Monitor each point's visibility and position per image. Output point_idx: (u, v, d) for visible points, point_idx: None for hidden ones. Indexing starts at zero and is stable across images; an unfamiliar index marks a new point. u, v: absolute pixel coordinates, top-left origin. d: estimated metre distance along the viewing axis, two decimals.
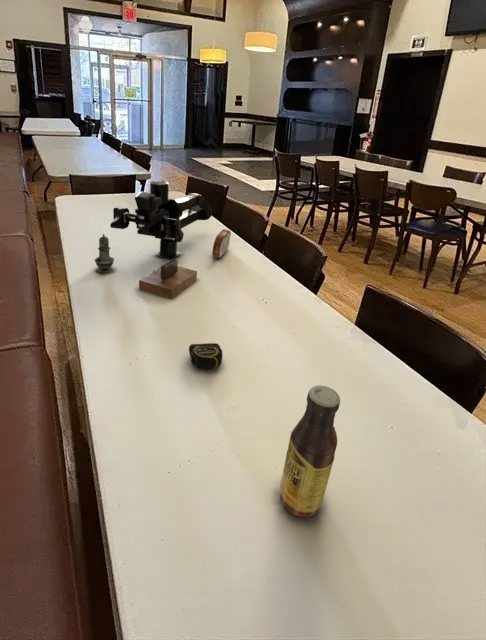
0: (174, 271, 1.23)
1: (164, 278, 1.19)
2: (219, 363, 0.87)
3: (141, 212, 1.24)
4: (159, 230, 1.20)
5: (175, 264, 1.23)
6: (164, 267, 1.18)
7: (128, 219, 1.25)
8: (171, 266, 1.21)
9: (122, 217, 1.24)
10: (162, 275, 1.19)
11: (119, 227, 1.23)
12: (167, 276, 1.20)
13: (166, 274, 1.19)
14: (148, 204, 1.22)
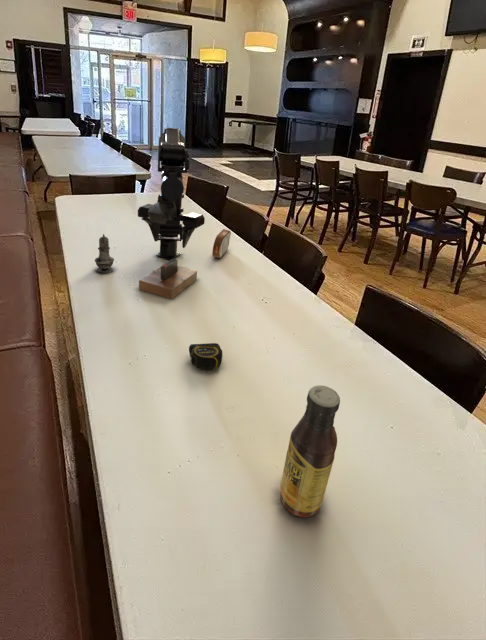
0: (174, 271, 1.23)
1: (164, 278, 1.19)
2: (219, 363, 0.87)
3: None
4: None
5: (175, 264, 1.23)
6: (164, 267, 1.18)
7: None
8: (171, 266, 1.21)
9: (153, 221, 1.18)
10: (162, 275, 1.19)
11: (159, 226, 1.20)
12: (167, 276, 1.20)
13: (166, 274, 1.19)
14: None
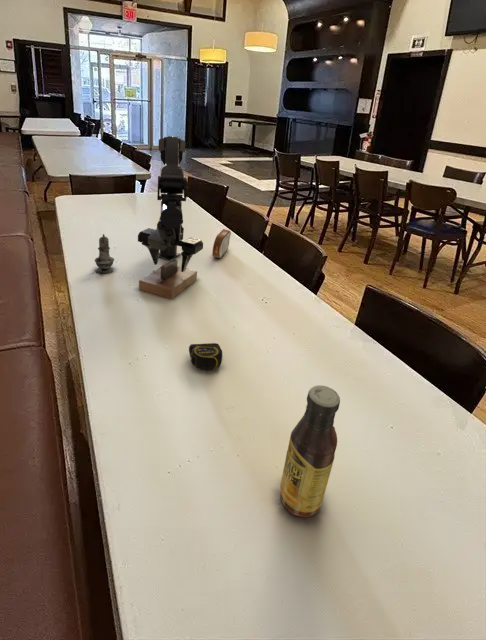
0: (174, 271, 1.23)
1: (164, 278, 1.19)
2: (219, 363, 0.87)
3: None
4: None
5: (175, 264, 1.23)
6: (164, 267, 1.18)
7: None
8: (171, 266, 1.21)
9: None
10: (162, 275, 1.19)
11: (158, 250, 1.23)
12: (167, 276, 1.20)
13: (166, 274, 1.19)
14: None
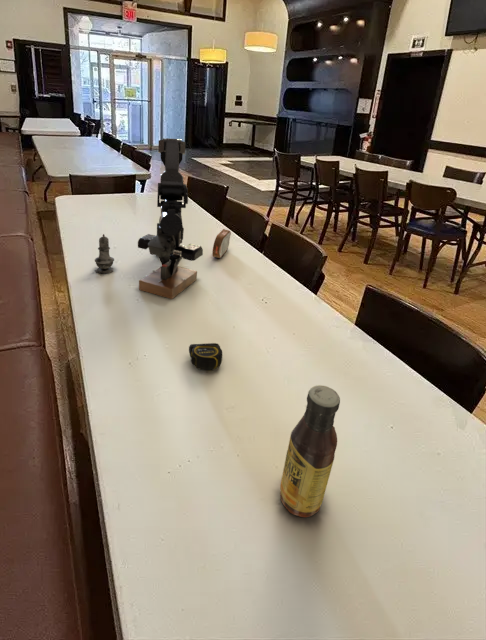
0: None
1: (164, 278, 1.19)
2: (219, 363, 0.87)
3: None
4: None
5: None
6: (164, 267, 1.18)
7: None
8: None
9: None
10: (162, 275, 1.19)
11: (169, 258, 1.23)
12: (167, 276, 1.20)
13: (166, 274, 1.19)
14: None
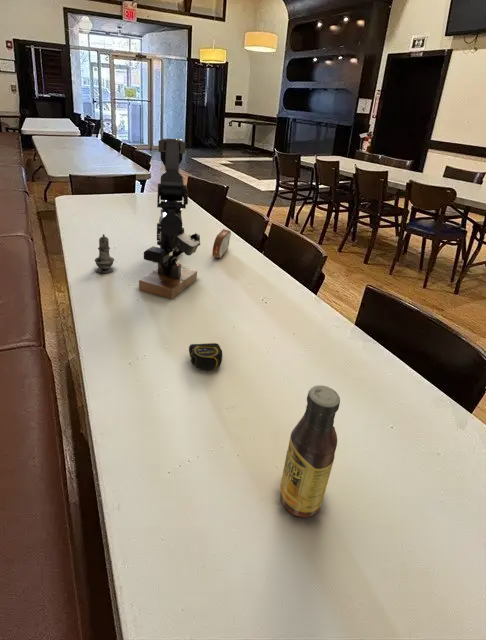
0: None
1: (180, 276, 1.22)
2: (219, 363, 0.87)
3: None
4: None
5: None
6: (180, 265, 1.20)
7: None
8: None
9: None
10: (179, 274, 1.21)
11: None
12: None
13: None
14: None
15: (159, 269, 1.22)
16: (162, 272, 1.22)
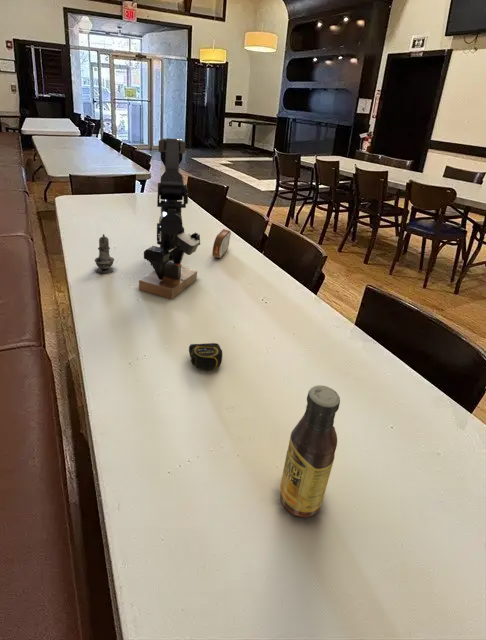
0: None
1: (180, 276, 1.22)
2: (219, 363, 0.87)
3: None
4: None
5: None
6: (180, 265, 1.20)
7: None
8: None
9: None
10: (179, 274, 1.21)
11: None
12: None
13: None
14: None
15: None
16: None
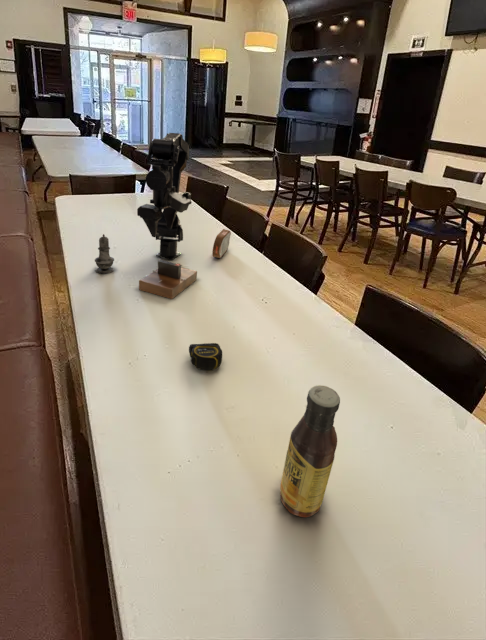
0: None
1: (180, 276, 1.22)
2: (219, 363, 0.87)
3: None
4: None
5: None
6: (180, 265, 1.20)
7: None
8: None
9: None
10: (179, 274, 1.21)
11: None
12: None
13: None
14: None
15: (159, 269, 1.22)
16: (162, 272, 1.22)
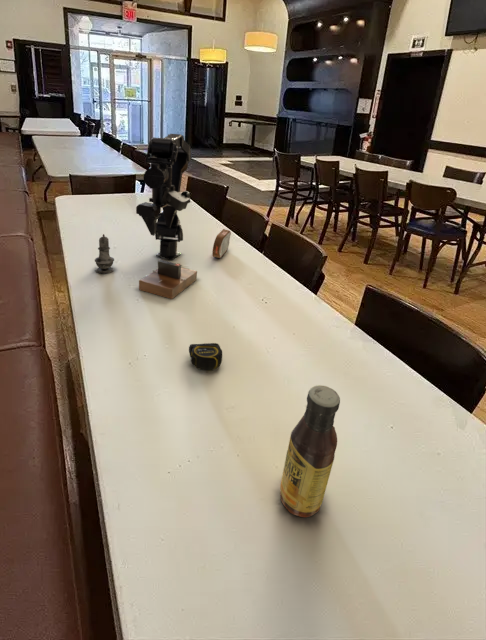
0: None
1: (180, 276, 1.22)
2: (219, 363, 0.87)
3: None
4: None
5: None
6: (180, 265, 1.20)
7: None
8: None
9: None
10: (179, 274, 1.21)
11: None
12: None
13: None
14: None
15: (159, 269, 1.22)
16: (162, 272, 1.22)
